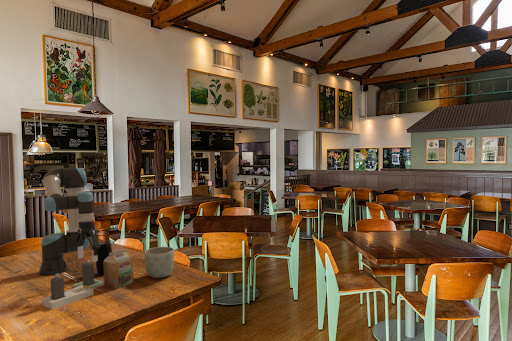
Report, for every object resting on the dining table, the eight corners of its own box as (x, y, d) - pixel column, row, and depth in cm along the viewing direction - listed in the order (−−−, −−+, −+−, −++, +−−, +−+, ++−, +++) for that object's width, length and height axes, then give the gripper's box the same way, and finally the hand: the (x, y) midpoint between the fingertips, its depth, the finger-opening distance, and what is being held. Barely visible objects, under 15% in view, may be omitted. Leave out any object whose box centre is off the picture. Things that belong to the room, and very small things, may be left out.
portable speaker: (110, 276, 205) (108, 243, 204) (93, 277, 204) (92, 244, 203) (115, 271, 213) (113, 240, 212) (99, 272, 212) (98, 240, 212)
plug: (83, 286, 187) (82, 260, 187) (90, 284, 191) (89, 259, 190) (87, 287, 185) (86, 261, 185) (94, 285, 188) (93, 260, 188)
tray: (73, 288, 186) (73, 284, 186) (92, 281, 196) (92, 278, 195) (84, 292, 180) (84, 288, 180) (103, 285, 189) (103, 281, 189)
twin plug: (51, 303, 165) (50, 274, 164) (60, 301, 168) (59, 272, 168) (55, 305, 162) (54, 276, 162) (64, 302, 166) (63, 273, 165)
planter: (180, 273, 207) (180, 248, 207) (161, 282, 192) (161, 255, 192) (158, 270, 215) (157, 245, 214) (138, 278, 199) (137, 252, 199)
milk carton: (116, 290, 182) (115, 254, 182) (104, 286, 188) (103, 252, 187) (133, 283, 191) (132, 249, 191) (121, 280, 197) (119, 247, 196)
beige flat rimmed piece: (41, 305, 164) (41, 297, 164) (82, 292, 180) (82, 283, 180) (52, 310, 158) (52, 301, 158) (93, 295, 175) (93, 287, 175)
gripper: (66, 220, 191) (68, 258, 191) (92, 223, 177) (94, 264, 177) (80, 218, 197) (81, 255, 197) (106, 221, 183) (107, 260, 183)
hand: (87, 259), depth 187 cm, fingers open, 13 cm apart
